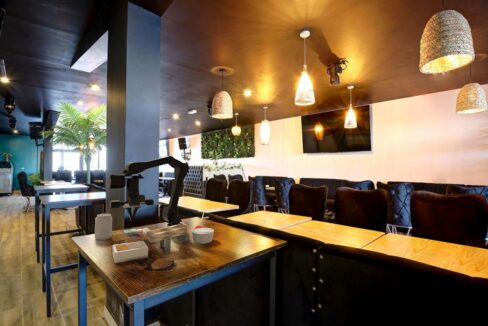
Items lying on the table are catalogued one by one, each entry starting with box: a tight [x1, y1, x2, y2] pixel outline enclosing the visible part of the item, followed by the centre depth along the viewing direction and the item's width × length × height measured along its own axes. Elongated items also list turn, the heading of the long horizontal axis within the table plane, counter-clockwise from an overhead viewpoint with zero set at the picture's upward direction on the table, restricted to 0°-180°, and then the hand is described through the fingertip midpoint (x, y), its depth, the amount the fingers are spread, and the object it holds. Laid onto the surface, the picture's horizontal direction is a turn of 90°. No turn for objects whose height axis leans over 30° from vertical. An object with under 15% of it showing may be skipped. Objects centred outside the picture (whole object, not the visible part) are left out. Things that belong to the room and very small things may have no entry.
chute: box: [123, 221, 191, 244], centre depth 111 cm, size 24×24×6 cm
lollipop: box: [192, 211, 210, 230], centre depth 136 cm, size 6×10×12 cm, turn 110°
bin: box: [112, 240, 149, 264], centre depth 99 cm, size 12×10×4 cm
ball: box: [117, 245, 128, 252], centre depth 98 cm, size 4×4×4 cm
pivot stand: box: [158, 236, 172, 255], centre depth 107 cm, size 2×11×7 cm, turn 33°
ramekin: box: [191, 227, 215, 245], centre depth 121 cm, size 11×11×5 cm
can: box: [94, 213, 113, 241], centre depth 122 cm, size 8×8×12 cm
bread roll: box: [143, 257, 179, 273], centre depth 89 cm, size 11×9×4 cm
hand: (131, 220), depth 115 cm, fingers closed
